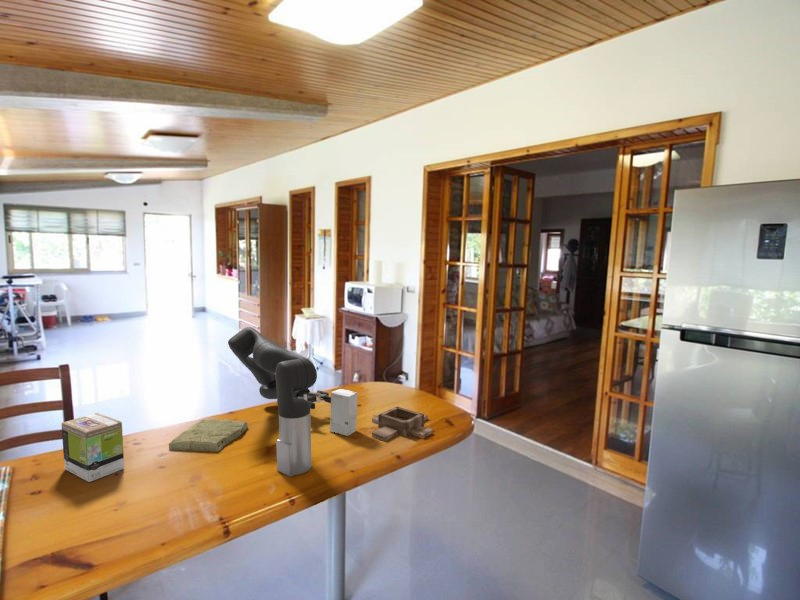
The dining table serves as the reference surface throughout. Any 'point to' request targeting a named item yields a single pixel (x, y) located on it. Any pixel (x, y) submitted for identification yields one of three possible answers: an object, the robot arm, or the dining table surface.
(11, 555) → the dining table surface
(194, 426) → the decorative tile
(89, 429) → the tea box
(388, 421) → the cross stand
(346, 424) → the skincare box
